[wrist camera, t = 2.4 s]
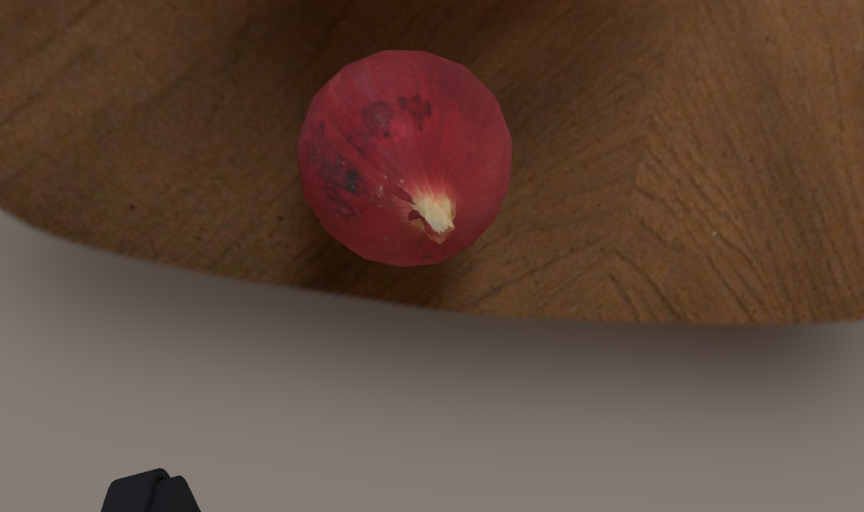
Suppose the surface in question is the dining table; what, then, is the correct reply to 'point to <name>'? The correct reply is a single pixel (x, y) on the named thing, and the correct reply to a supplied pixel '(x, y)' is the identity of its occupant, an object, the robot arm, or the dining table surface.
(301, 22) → the dining table surface
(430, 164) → the onion
